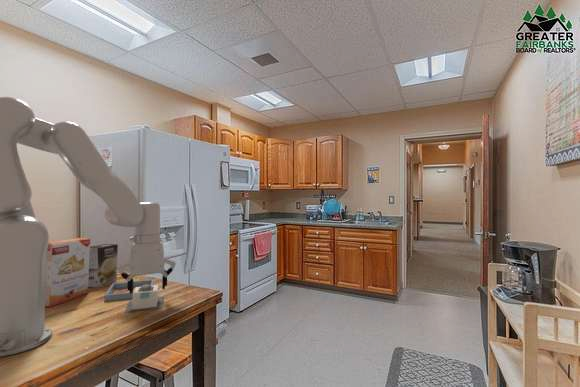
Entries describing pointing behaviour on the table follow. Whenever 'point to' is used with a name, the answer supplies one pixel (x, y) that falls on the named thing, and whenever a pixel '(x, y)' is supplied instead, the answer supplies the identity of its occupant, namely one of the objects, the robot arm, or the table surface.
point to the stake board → (159, 305)
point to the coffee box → (102, 265)
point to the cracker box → (66, 270)
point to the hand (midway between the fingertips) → (147, 290)
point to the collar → (145, 298)
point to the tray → (124, 285)
